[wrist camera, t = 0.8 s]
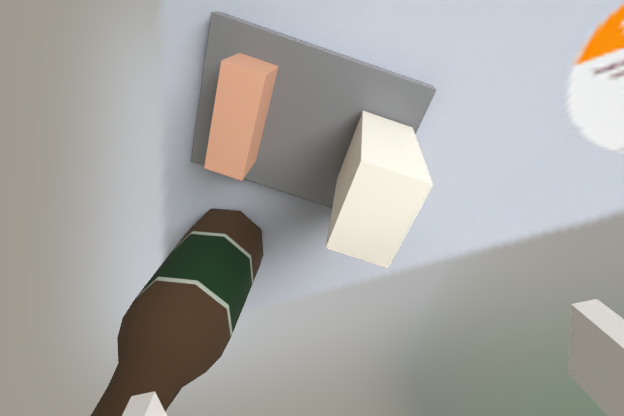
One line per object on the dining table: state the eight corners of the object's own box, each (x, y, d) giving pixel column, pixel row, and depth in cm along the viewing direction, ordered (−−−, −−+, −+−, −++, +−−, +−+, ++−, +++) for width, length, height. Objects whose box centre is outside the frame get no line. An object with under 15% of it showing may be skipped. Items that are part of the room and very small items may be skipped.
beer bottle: (185, 250, 39) (-19, 531, 18) (203, 192, 35) (-30, 466, 14) (253, 278, 40) (129, 579, 19) (277, 224, 36) (156, 529, 15)
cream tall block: (362, 110, 28) (361, 160, 19) (412, 127, 28) (433, 184, 19) (337, 178, 31) (325, 248, 22) (382, 193, 31) (388, 268, 22)
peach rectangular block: (239, 52, 27) (221, 60, 24) (278, 66, 27) (265, 75, 24) (222, 149, 31) (204, 168, 28) (255, 160, 31) (242, 180, 28)
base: (218, 11, 27) (211, 12, 26) (433, 85, 28) (436, 90, 27) (197, 154, 33) (190, 161, 32) (374, 213, 34) (374, 221, 33)
